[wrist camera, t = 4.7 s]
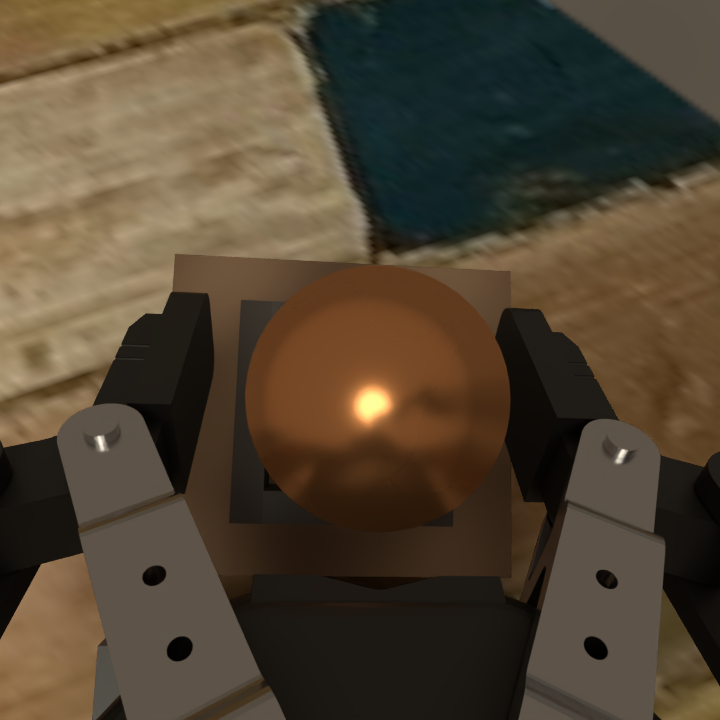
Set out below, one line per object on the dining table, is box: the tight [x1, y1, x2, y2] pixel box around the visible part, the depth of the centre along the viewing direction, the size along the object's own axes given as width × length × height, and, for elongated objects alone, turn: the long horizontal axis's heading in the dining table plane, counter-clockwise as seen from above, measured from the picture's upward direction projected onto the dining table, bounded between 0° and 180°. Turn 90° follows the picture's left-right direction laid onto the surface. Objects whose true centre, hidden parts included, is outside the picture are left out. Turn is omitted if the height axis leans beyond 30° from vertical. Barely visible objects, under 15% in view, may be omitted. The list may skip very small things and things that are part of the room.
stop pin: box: [245, 266, 511, 533], centre depth 13 cm, size 4×4×9 cm
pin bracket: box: [173, 254, 511, 578], centre depth 17 cm, size 10×9×4 cm
